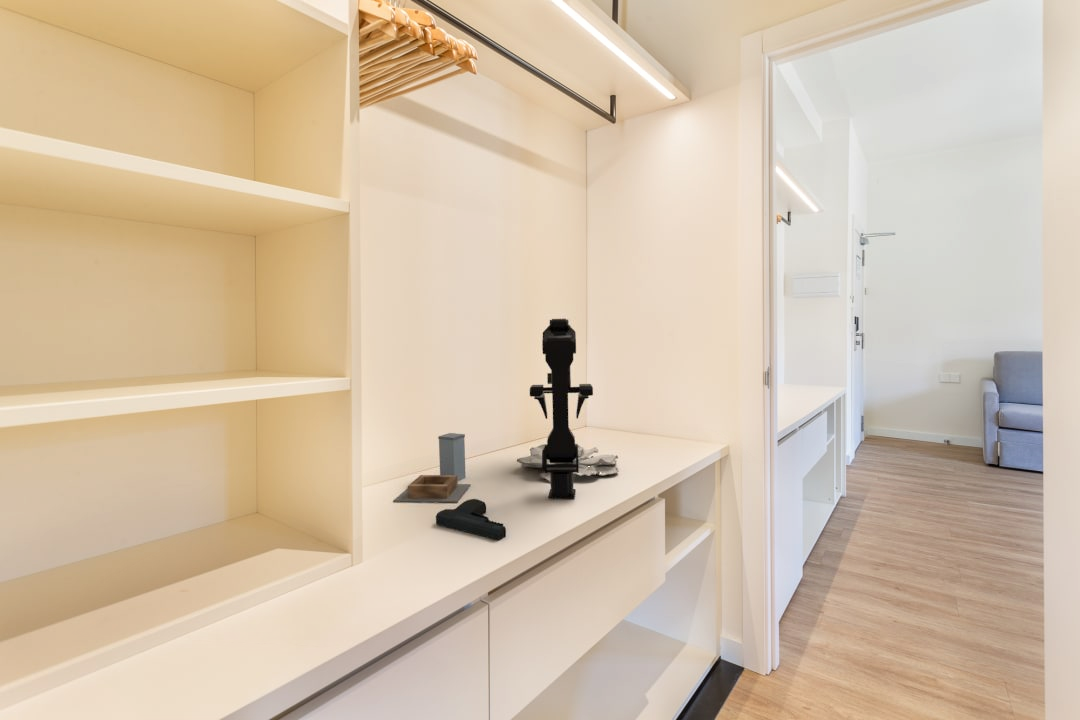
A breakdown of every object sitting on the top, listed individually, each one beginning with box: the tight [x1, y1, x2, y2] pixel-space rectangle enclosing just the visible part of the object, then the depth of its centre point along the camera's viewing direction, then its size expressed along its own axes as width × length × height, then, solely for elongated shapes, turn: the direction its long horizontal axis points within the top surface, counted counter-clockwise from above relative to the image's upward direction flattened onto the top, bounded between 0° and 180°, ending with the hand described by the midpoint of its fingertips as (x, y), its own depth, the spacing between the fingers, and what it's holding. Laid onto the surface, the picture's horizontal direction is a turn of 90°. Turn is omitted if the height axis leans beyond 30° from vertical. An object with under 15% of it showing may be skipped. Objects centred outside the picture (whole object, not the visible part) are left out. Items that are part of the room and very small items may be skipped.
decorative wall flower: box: [516, 443, 619, 482], centre depth 155 cm, size 30×7×30 cm
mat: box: [392, 483, 472, 504], centre depth 134 cm, size 16×14×1 cm
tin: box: [437, 432, 467, 482], centre depth 146 cm, size 5×5×12 cm
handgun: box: [435, 498, 507, 542], centre depth 112 cm, size 3×18×12 cm
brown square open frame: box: [407, 474, 459, 498], centre depth 133 cm, size 10×10×3 cm
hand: (561, 418), depth 157 cm, fingers open, 9 cm apart
